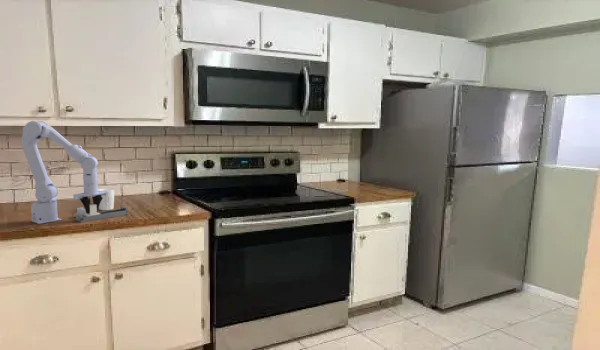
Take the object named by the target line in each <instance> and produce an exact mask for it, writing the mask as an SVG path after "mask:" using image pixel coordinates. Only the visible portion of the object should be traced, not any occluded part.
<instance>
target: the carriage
mask: <svg viewBox="0 0 600 350" xmlns="http://www.w3.org/2000/svg"><path fill="white" fill-rule="evenodd" d="M99 214H100V213H98V212H97V205H96V204H93V203H90V213H89V214H88V213H87V214H85V215H84V217H87V216H93V215H99Z"/></svg>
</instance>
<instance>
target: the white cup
mask: <svg viewBox="0 0 600 350" xmlns="http://www.w3.org/2000/svg"><path fill="white" fill-rule="evenodd" d="M98 191H108V195H103V196H101V197H102V200H101V202H100V205H99V208H98V211H99V210H100V211H110V210H115V209H114V204H115V189H114V188H111V187H110V188H108V187H107V188H98Z"/></svg>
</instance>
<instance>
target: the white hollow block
mask: <svg viewBox="0 0 600 350" xmlns="http://www.w3.org/2000/svg"><path fill="white" fill-rule="evenodd" d="M76 211H77V212H76V213H79V214H82V215H85V214H87V213H86V210H85V209H83V206H80V207H77V208H76Z"/></svg>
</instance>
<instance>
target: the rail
mask: <svg viewBox="0 0 600 350" xmlns="http://www.w3.org/2000/svg"><path fill="white" fill-rule="evenodd" d="M97 213H100V214H99V215H93V216H87V217H84V215H82V214H79V213H77V212H76V213H75V221H77V222H79V223H83V222H91V221H97V220H101V219H106V218H107V219H108V218H114V217H119V216H125V215H129V207H127V206H123V205H121V206H120V208H118V209H117V208H116V209H111V210H103V211H98V212H97Z"/></svg>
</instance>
